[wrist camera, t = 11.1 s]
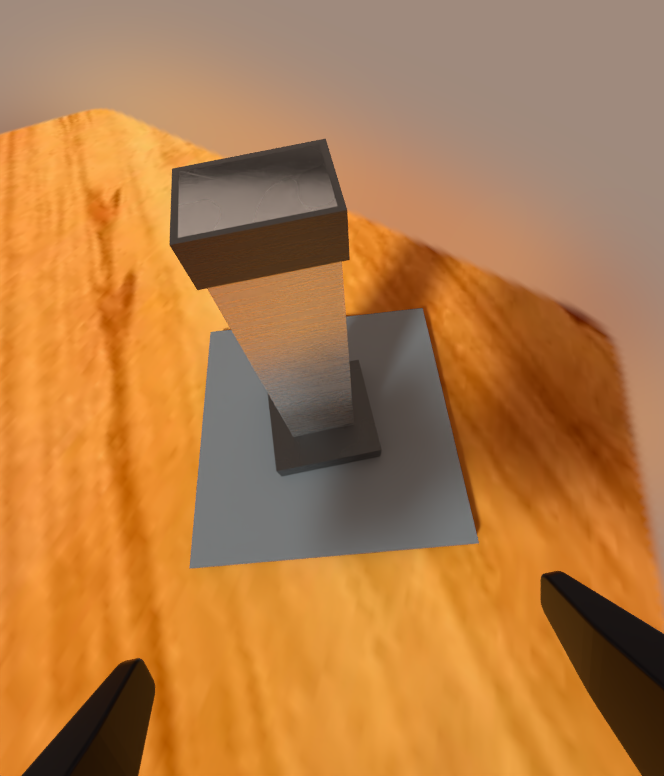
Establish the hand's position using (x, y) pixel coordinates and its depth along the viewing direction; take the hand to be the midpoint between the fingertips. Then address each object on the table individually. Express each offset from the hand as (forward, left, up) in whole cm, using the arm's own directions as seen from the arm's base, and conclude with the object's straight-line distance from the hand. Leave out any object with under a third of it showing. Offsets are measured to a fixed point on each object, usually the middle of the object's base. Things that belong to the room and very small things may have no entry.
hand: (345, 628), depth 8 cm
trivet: (+8, +1, -9) cm, 12 cm away
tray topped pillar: (+8, +1, -8) cm, 11 cm away
